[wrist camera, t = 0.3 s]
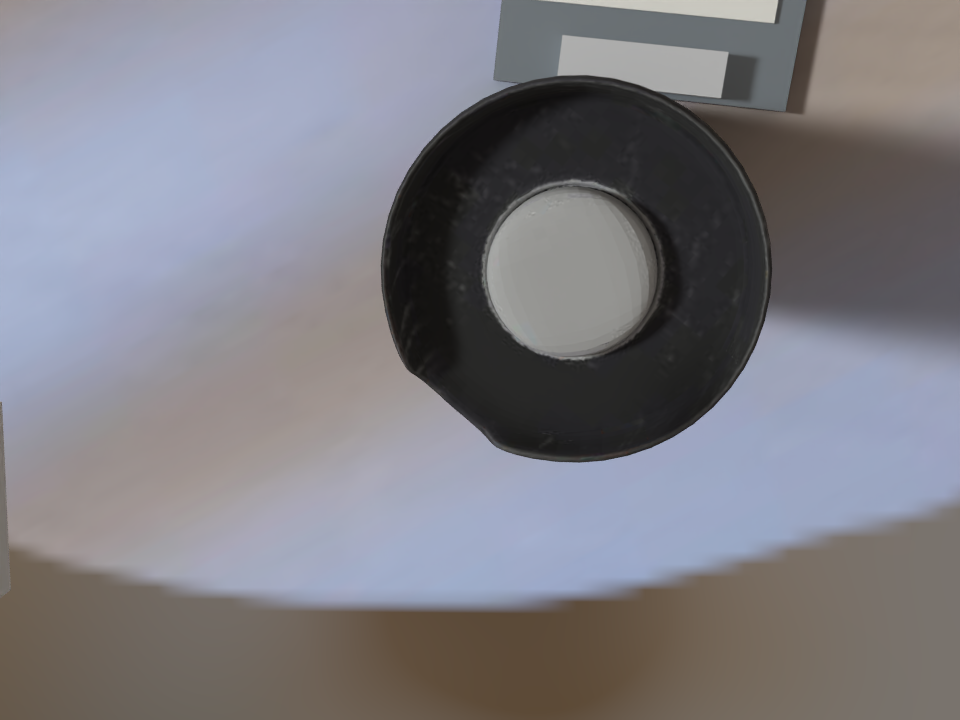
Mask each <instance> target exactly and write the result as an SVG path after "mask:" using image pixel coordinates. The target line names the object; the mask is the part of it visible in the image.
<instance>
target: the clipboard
mask: <svg viewBox="0 0 960 720" xmlns="http://www.w3.org/2000/svg"><path fill="white" fill-rule="evenodd" d="M806 1H807V0H502V4H501V13H500V23H499V32H498V41H497V51H496V60H495V69H494V79H493V80H496V81H505V82H514V83H525V82H528V81H531V80H535V79H542V78H548V77H554V76H563V75H591V76H599V77H608V78H615V79H619V80H622V81H626V82H630V83H634V84H638V85H641V86H643V87H646V88H648V89H651V90H653V91H655V92H658V93H660V94H663V95H665V96H667V97H668V98H670V99H672V100H680V101H689V102H698V103H707V104H716V105H726V106H735V107H744V108H753V109H762V110H771V111H781V112H785V110H786V105H787V100H788V95H789V90H790V84H791V79H792V74H793V69H794V63H795V58H796V53H797V48H798V42H799V37H800V32H801V27H802V22H803V16H804V11H805V6H806Z"/></svg>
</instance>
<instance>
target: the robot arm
mask: <svg viewBox="0 0 960 720" xmlns="http://www.w3.org/2000/svg"><path fill="white" fill-rule="evenodd" d="M10 589H11V587H10V565H9V544H8V522H7V501H6V480H5V458H4V437H3V415H2V402H0V597H2V596H3V595H4V594H6V593H7V592H8V591H9V590H10Z"/></svg>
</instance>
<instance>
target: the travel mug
mask: <svg viewBox="0 0 960 720" xmlns="http://www.w3.org/2000/svg"><path fill="white" fill-rule="evenodd" d="M771 276H772V261H771V246H770V239H769V234H768V229H767V225H766V220H765V216H764V213H763V210H762V207H761V204H760V202H759V199H758V196H757V193H756V191H755V189H754V187H753V185H752V183H751V181H750V179H749V177H748V176H747V174H746V172H745V170H744V168H743V166H742V165H741V163H740V162H739V161H738V159H737V158H736V156H735V155H734V154H733V152H732V151H731V149H730V148H729V147H728V145H727V144H726V143H725V142H724V141H723V140H722V139H721V138H720V137H719V136H718V135H717V134H716V133H715V132H714V131H713V130H712V128H711V127H710V126H709V125H707V124H706V123H705V122H704V121H702V120H701V119H700V118H699V117H697V116H696V115H695V114H694V113H692V112H691V111H690V110H688V109H687V108H685V107H684V106H682V105H680V104H679V103H677V102H675V101H673V100H672V99H670V98H668V97H667V96H665V95H663V94H660V93H658V92H655V91H653V90H651V89H648V88H646V87H643V86H641V85H638V84H634V83H630V82H626V81H622V80H619V79H615V78H608V77H599V76H591V75H563V76H554V77H548V78H542V79H535V80H531V81H528V82H525V83H521V84H518V85H515V86H511V87H508V88H506V89H504V90H501V91H499V92H497V93H495V94H493V95H490V96H488V97H486V98H484V99H482V100H480V101H479V102H477V103H476V104H474V105H472V106H471V107H469V108H468V109H466V110H464V111H463V112H461V113H460V114H459V115H458V116H456V117H455V118H454V119H453V120H452V121H450V122H449V123H448V124H447V125H446V126H444V127H443V128H442V129H441V130H440V131H439V132H438V133H437V134H436V135H435V136H434V138H433V139H432V140H431V141H430V142H429V143H428V144H427V145H426V146H425V147H424V149H423V150H422V151H421V153H420V154H419V156H418V157H417V159H416V160H415V161H414V163H413V164H412V166H411V167H410V169H409V170H408V172H407V174H406V176H405V178H404V180H403V182H402V184H401V186H400V187H399V189H398V191H397V194H396V196H395V199H394V202H393V205H392V207H391V210H390V213H389V216H388V220H387V225H386V229H385V234H384V238H383V246H382V257H381V282H382V294H383V300H384V306H385V312H386V316H387V320H388V324H389V328H390V332H391V335H392V338H393V341H394V343H395V346H396V349H397V351H398V354H399V356H400V358H401V360H402V362H403V363H404V365H405V367H406V368H407V369H408V370H409V371H410V372H411V373H412V374H414V375H416V376H417V377H418V378H420V379H421V380H422V381H424V382H425V383H426V384H427V385H428V386H430V387H431V388H432V389H433V390H434V391H435V392H437V393H438V394H439V395H440V396H441V397H442V398H443V399H444V400H445V401H446V402H447V403H449V404H450V405H451V406H452V407H453V408H454V409H455V410H457V411H458V412H459V413H460V414H462V415H463V416H464V417H465V418H466V419H467V420H469V421H470V422H471V423H472V424H473V425H474V426H475V427H476V428H478V429H479V430H480V431H481V432H482V433H483V434H484V435H485V436H486V437H487V438H488V440H489V441H490V442H491V443H492V444H493V445H494V446H496V447H497V448H499V449H501V450H504V451H506V452H509V453H512V454H515V455H519V456H524V457H528V458H533V459H540V460H547V461H555V462H592V461H604V460H609V459H614V458H619V457H623V456H628V455H631V454H634V453H637V452H640V451H643V450H646V449H649V448H652V447H654V446H656V445H658V444H660V443H662V442H664V441H666V440H668V439H670V438H672V437H674V436H676V435H677V434H679V433H680V432H682V431H683V430H685V429H686V428H688V427H689V426H691V425H693V424H694V423H695V422H696V421H698V420H699V419H700V418H701V417H702V416H703V415H705V414H706V413H707V412H708V411H709V410H710V409H712V408H713V407H714V406H715V405H716V404H717V402H718V401H719V400H720V399H721V398H722V397H723V396H724V395H725V394H726V393H727V391H728V390H729V389H730V388H731V387H732V385H733V384H734V382H735V381H736V379H737V378H738V376H739V375H740V374H741V372H742V371H743V369H744V368H745V366H746V364H747V362H748V360H749V358H750V356H751V354H752V352H753V350H754V348H755V346H756V344H757V341H758V338H759V335H760V333H761V330H762V327H763V324H764V321H765V317H766V312H767V307H768V303H769V298H770V290H771Z"/></svg>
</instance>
